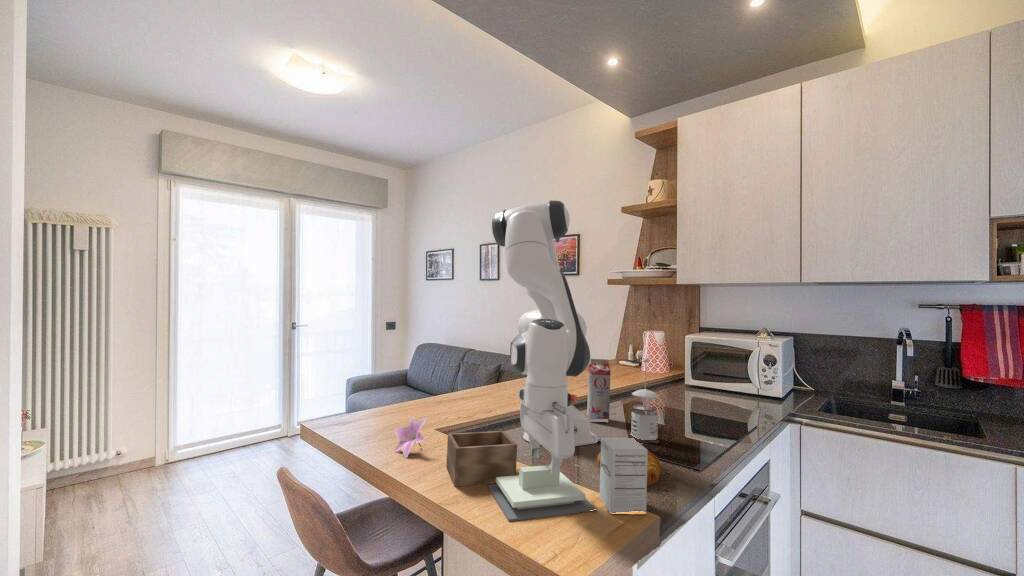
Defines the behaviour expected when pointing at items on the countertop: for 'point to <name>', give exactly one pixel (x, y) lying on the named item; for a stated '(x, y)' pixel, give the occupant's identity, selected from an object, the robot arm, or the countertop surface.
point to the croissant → (652, 468)
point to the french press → (643, 423)
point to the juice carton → (598, 389)
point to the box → (480, 457)
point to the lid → (538, 488)
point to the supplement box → (623, 474)
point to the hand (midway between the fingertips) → (544, 465)
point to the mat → (537, 512)
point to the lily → (409, 435)
